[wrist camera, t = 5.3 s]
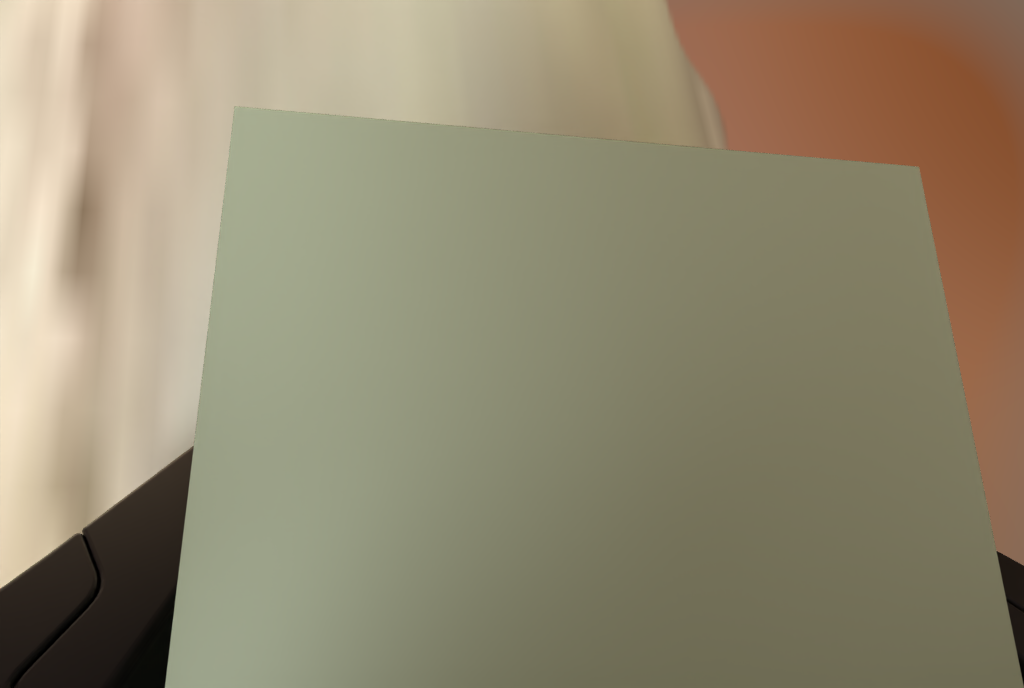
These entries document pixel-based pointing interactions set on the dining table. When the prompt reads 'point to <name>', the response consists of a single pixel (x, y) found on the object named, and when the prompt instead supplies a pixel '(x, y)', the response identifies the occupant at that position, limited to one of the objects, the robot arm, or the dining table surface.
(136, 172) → the dining table surface
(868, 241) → the sage block
